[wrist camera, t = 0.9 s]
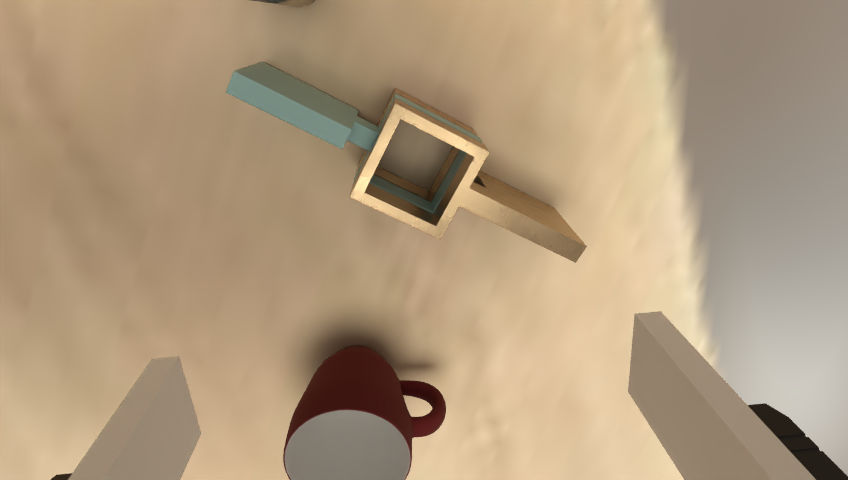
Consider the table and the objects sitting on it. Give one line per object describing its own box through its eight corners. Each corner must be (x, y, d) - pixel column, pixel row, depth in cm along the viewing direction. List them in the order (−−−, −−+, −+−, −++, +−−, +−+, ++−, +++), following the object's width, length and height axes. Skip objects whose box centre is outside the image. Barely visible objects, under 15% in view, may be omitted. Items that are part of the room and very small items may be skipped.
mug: (434, 312, 42) (445, 396, 33) (443, 398, 45) (456, 496, 36) (297, 328, 42) (270, 416, 33) (316, 413, 45) (296, 515, 36)
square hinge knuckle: (357, 166, 37) (349, 197, 31) (395, 88, 36) (395, 103, 29) (529, 248, 40) (555, 293, 34) (572, 180, 38) (608, 213, 32)
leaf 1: (473, 129, 36) (489, 152, 30) (432, 203, 38) (440, 239, 32) (276, 26, 34) (249, 28, 27) (243, 112, 35) (210, 132, 29)
